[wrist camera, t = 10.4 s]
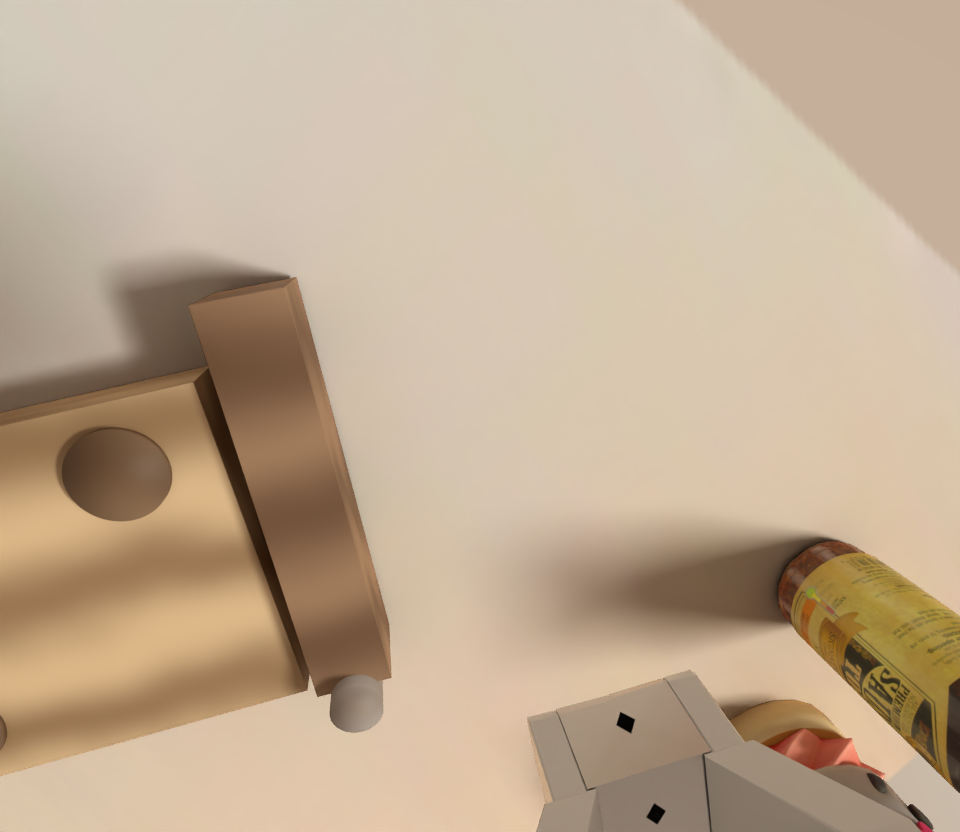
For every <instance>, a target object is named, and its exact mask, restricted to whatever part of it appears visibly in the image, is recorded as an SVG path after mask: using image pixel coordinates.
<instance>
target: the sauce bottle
mask: <svg viewBox="0 0 960 832" xmlns="http://www.w3.org/2000/svg"><path fill="white" fill-rule="evenodd" d="M778 600H779V607H780V608H781V610H782V613H783V615H784V617H786V619H787V620H788V621H789V622H790V623H791V624H792V625H793V627H794V629H795V630H796V632H797V633H798V634H799V635H800V636H801V637H802V638H803V639H804V640H805V641H806V642H807V643H808V644H809V645H810V646H811V647H812V648H813V649H814V650H815V651H816V652H817V653H818V654H819V655H820V656H821V657H822V658H823V659H824V660H825V661H826V662H827V663H828V664H829V665H830V666H831V667H832V668H833V669H834V670H835V671H836V672H837V673H838V674H839V675H840V676H841V677H842V678H843V679H844V680H845V681H846V682H847V683H848V684H849V685H850V686H851V687H852V688H853V689H854V690H855V691H856V692H857V693H858V694H859V695H860V696H861V697H862V698H863V699H864V700H865V701H866V702H867V703H868V704H869V705H870V706H871V707H872V708H873V709H874V710H875V711H876V712H877V713H878V714H879V715H880V716H881V717H882V718H883V719H884V720H885V721H886V722H887V723H888V724H889V725H890V726H891V727H892V728H894V729H895V730H896V731H897V732H898V733H899V734H900V735H901V736H902V737H903V738H904V739H905V740H906V741H907V742H908V743H909V744H910V745H911V746H912V747H913V748H914V749H915V750H916V751H917V752H918V753H919V754H920V755H921V756H922V757H923V758H924V759H925V760H926V761H927V762H928V763H929V764H930V765H931V766H932V767H933V768H934V769H935V770H936V771H937V772H938V773H939V774H940V775H941V776H942V777H943V778H944V779H945V780H946V781H947V782H948V783H949V784H950V785H952V787H954V788H955V789H956V790H957V791H958V792H959V793H960V616H959V615H958V614H956V613H955V612H953V611H952V610H951V609H949V608H948V607H946V606H945V605H943V604H942V603H941V602H939V601H938V600H936V599H935V598H933V597H932V596H931V595H929V594H928V593H926V592H925V591H923V590H922V589H921V588H919V587H918V586H916V585H915V584H913V583H912V582H911V581H909V580H908V579H906V578H905V577H903V576H902V575H900V574H899V573H897V572H896V571H894V570H893V569H892V568H890V567H889V566H887V565H886V564H884V563H883V562H881V561H880V560H878V559H877V558H875V557H873V556H871V555H869V554H866V553H865V552H863V551H861V550H859V549H858V548H857V547H855V546H853V545H851V544H846V543H842V542H838V541H828V542H824V543H818V544H816V545H814V546H812V547H810V548H807V549H806V550H805V551H804V552H803V553H802V554H800V555H798V556H797V557H796V558H795V559H794V560H793V561H792V562H791V563H790V564H789V565H788V566H787V568H786V569H785V572H784V573H783V576H782V578H781V581H780V583H779V591H778Z"/></svg>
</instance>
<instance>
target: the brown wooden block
mask: <svg viewBox="0 0 960 832" xmlns="http://www.w3.org/2000/svg"><path fill="white" fill-rule="evenodd" d="M189 309H190V312H191V315H192V318H193V321H194V324H195V328H196V331H197V334H198V337H199V340H200V343H201V346H202V349H203V352H204V355H205V358H206V361H207V364H208V367H209V370H210V373H211V376H212V379H213V382H214V385H215V388H216V391H217V394H218V397H219V400H220V403H221V406H222V409H223V412H224V415H225V418H226V421H227V424H228V427H229V430H230V434H231V437H232V440H233V443H234V446H235V449H236V452H237V455H238V458H239V461H240V464H241V467H242V470H243V473H244V476H245V479H246V482H247V485H248V488H249V491H250V494H251V497H252V500H253V503H254V506H255V509H256V512H257V515H258V518H259V521H260V524H261V527H262V530H263V533H264V537H265V540H266V543H267V546H268V549H269V552H270V555H271V558H272V561H273V564H274V567H275V570H276V573H277V576H278V579H279V582H280V585H281V588H282V591H283V594H284V597H285V600H286V603H287V606H288V609H289V612H290V615H291V618H292V621H293V624H294V627H295V630H296V633H297V636H298V639H299V643H300V646H301V649H302V652H303V655H304V658H305V661H306V664H307V667H308V670H309V673H310V676H311V679H312V682H313V685H314V688H315V691H316V694H317V697H319V696H323V695H327V694H331V704H330V718H331V721H332V722H333V724H334V725H335V726H336V727H337V728H339V729H341V730H343V731H346V732H352V733H355V732H362V731H365V730H368V729H370V728H372V727H373V726H375V725H376V724H377V723H378V722H379V720H380V719H381V717H382V714H383V681H382V680H385V679H388V678H391V657H390V634H389V623H388V619H387V615H386V611H385V608H384V604H383V600H382V596H381V593H380V589H379V585H378V581H377V578H376V574H375V570H374V566H373V563H372V559H371V555H370V551H369V548H368V544H367V540H366V536H365V533H364V529H363V525H362V521H361V518H360V514H359V510H358V506H357V503H356V499H355V495H354V491H353V488H352V484H351V480H350V476H349V473H348V469H347V465H346V461H345V458H344V454H343V450H342V446H341V443H340V439H339V435H338V431H337V428H336V424H335V420H334V416H333V413H332V409H331V405H330V401H329V398H328V394H327V390H326V386H325V383H324V379H323V375H322V371H321V368H320V364H319V360H318V356H317V353H316V349H315V345H314V341H313V338H312V334H311V330H310V326H309V323H308V319H307V315H306V311H305V308H304V304H303V300H302V296H301V293H300V289H299V285H298V281H297V278H296V277H295V278H289V279H284V280H279V281H274V282H268V283H263V284H258V285H252V286H247V287H242V288H237V289H231V290H226V291H221V292H216V293H213V294H211V295H209V296H207V297H205V298H203V299H201V300H199V301H197V302H195V303H193V304H191V305H189Z"/></svg>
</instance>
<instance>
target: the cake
mask: <svg viewBox="0 0 960 832" xmlns="http://www.w3.org/2000/svg"><path fill="white" fill-rule="evenodd" d="M730 722H731V724H732V725H733V726H734V728H735V729H736V731H737V732H738V733H739V735H740V736H741V737H742V739H743V740H744V742H747V741H751V740H755V741H757V742H759V743H761V744H763V745H765V746H767V747H768V748H770V749H772V750H774V751H776V752H778V753H780V754H782V755H784V756H786V757H788V758H790V759H792V760H794V761H796V762H798V763H800V764H802V765H804V766H806V767H808V768H810V769H812V770H814V771H816V772H818V773H820V774H822V775H824V776H826V777H828V778H830V779H832V780H834V781H836V782H838V783H839V784H841V785H843V786H845V787H847V788H849V789H851V790H853V791H855V792H857V793H859V794H861V795H863V796H865V797H867V798H869V799H871V800H873V801H875V802H877V803H879V804H881V805H883V806H885V807H887V808H889V809H891V810H893V811H895V812H897V813H899V814H901V815H903V816H905V817H907V818H909V819H910V820H911V821H912V822H913V823H914V824H915V825H916V826H917V827H918V828H919V830H920V831H921V832H933V831H932V830H933V825H932V824H931V822H930V821H929V820H928V818H927V817H926V816H925V815H924V814H923V813H922V812H921V811H920V810H919V809H917V808H916V807H915V806H914V805H913V804H910V805H909V806H907V805H906V804H905V803H904V802H903V801H902V800H901V798H900V797H899V796H898V795H897V794H896V793H895V792H894V791H893V790H892V788H891V787H890V786H889V785H888V784H887V783H886V782H885V781H884V780H883V779H884V775H885V773H882V772H880V771H878V770H876V769H874V768H872V767H870V766H868V765H866V764H864V763H862V762H860V760H859V757H858V755H857V752H856V750H855V748H854V745H853V741H852V738H845V737H844V735H843V734H842V733H841V732H840V731H839V730H838V729H837V728H836V727H835V726H834V724H833V723H832V722H831V721H830V720H829V719H828V718H827V717H826V716H825V715H824V714H823V713H822V712H821V711H819V710H818V709H817V708H815V707H814V706H813V705H811V704H808V703H804V702H800V701H796V700H779V701H770V702H767V703H764V704H761V705H758V706H755V707H752V708H750V709H748V710H746V711H745V712H743V713H741V714H740V715H738V716H736V717H735V718H733V719H731V720H730Z"/></svg>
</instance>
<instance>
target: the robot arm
mask: <svg viewBox="0 0 960 832" xmlns="http://www.w3.org/2000/svg"><path fill="white" fill-rule="evenodd" d="M527 723H528V727H529V732H530V736H531V741H532V746H533V750H534V755H535V759H536V764H537V768H538V772H539V776H540V780H541V784H542V789H543V793H544V797H545V800H546V804H544V808H543V811H542V814H541V818H540V821H539V824H538V828H537V831H536V832H921V831H920V830H919V828H918V827H917V826H916V825H915V824H914V823H913V822H912V821H911V820H910V819H909V818H907V817H905V816H903V815H901V814H899V813H897V812H895V811H893V810H891V809H889V808H887V807H885V806H883V805H881V804H879V803H877V802H875V801H873V800H871V799H869V798H867V797H865V796H863V795H861V794H859V793H857V792H855V791H853V790H851V789H849V788H847V787H845V786H843V785H841V784H839V783H838V782H836V781H834V780H832V779H830V778H828V777H826V776H824V775H822V774H820V773H818V772H816V771H814V770H812V769H810V768H808V767H806V766H804V765H802V764H800V763H798V762H796V761H794V760H792V759H790V758H788V757H786V756H784V755H782V754H780V753H778V752H776V751H774V750H772V749H770V748H768V747H767V746H765V745H763V744H761V743H759V742H757V741H755V740H751V741H747V742H744V740H743V739H742V737H741V736H740V735H739V733H738V732H737V731H736V729H735V728H734V726H733V725H732V724H731V722H730V721H729V719H728V718H727V717H726V715H725V714H724V713H723V711H722V710H721V708H720V707H719V706H718V704H717V703H716V701H715V700H714V699H713V697H712V696H711V695H710V693H709V692H708V690H707V689H706V688H705V686H704V685H703V684H702V682H701V681H700V679H699V678H698V677H697V675H696V674H695V673H694V672H692V671H691V670H688V671H684V672H681V673H678V674H675V675H671V676H668V677H665V678H663V679H658V680H655V681H652V682H648V683H645V684H642V685H639V686H635V687H632V688H629V689H626V690H622V691H619V692H616V693H613V694H609V695H608V696H604V697H600V698H596V699H593V700H589V701H585V702H581V703H578V704H574V705H570V706H566V707H563V708H559V709H556V711H555V710H554V711H550V712H546V713H543V714H539V715H535V716H531V717H527Z"/></svg>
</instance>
